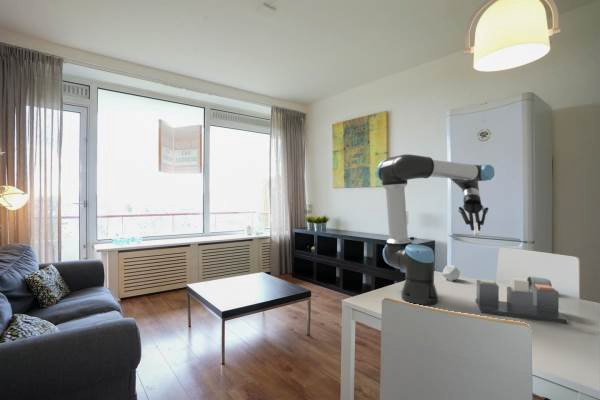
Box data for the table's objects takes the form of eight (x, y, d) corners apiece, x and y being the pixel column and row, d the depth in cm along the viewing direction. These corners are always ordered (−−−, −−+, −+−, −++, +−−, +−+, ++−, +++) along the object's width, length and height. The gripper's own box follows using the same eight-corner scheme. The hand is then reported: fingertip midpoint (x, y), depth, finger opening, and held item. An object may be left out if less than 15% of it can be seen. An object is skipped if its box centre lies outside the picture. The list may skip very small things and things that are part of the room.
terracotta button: (539, 309, 113) (539, 287, 113) (535, 305, 117) (535, 284, 117) (553, 310, 111) (553, 288, 111) (548, 306, 115) (548, 285, 115)
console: (481, 312, 114) (481, 288, 114) (475, 301, 126) (475, 279, 126) (567, 323, 104) (567, 297, 104) (551, 310, 116) (551, 286, 116)
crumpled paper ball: (462, 283, 155) (464, 267, 160) (450, 276, 153) (452, 260, 158) (450, 285, 162) (451, 269, 167) (438, 278, 160) (440, 262, 165)
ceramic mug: (552, 296, 133) (552, 279, 134) (532, 294, 136) (531, 278, 136) (543, 289, 143) (543, 274, 143) (523, 288, 146) (523, 273, 146)
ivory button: (514, 302, 111) (514, 280, 111) (510, 299, 115) (511, 277, 115) (528, 304, 109) (528, 281, 109) (524, 300, 113) (524, 278, 113)
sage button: (482, 302, 120) (482, 281, 120) (480, 299, 124) (480, 279, 124) (494, 303, 118) (494, 283, 118) (492, 300, 122) (492, 280, 122)
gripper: (485, 204, 149) (492, 241, 134) (456, 203, 154) (459, 239, 139) (487, 193, 144) (494, 230, 129) (457, 193, 149) (461, 229, 134)
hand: (476, 235), depth 134 cm, fingers closed
